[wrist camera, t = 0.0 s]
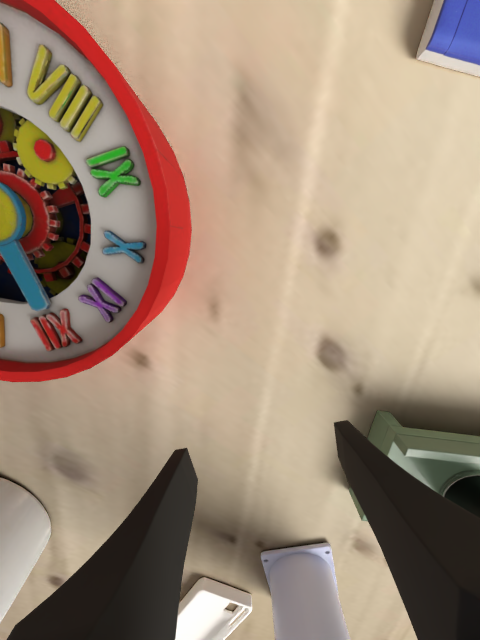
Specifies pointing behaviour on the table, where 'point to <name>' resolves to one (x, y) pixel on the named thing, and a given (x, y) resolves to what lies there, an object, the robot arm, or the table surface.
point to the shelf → (423, 452)
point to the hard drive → (452, 36)
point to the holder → (464, 490)
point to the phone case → (210, 611)
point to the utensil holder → (19, 539)
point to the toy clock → (78, 200)
